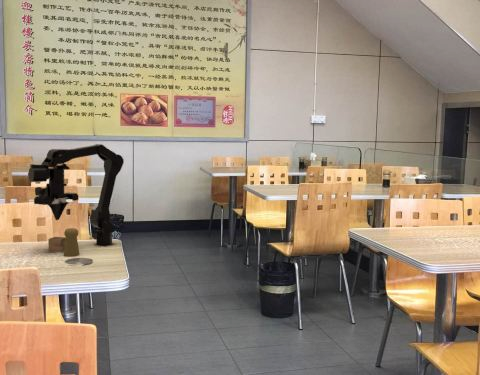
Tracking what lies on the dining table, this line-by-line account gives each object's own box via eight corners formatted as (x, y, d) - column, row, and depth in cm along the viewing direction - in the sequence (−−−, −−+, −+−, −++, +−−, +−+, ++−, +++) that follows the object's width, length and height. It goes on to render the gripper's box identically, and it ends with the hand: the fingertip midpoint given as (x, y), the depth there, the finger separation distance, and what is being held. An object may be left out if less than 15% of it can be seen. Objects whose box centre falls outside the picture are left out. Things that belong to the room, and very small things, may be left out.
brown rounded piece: (74, 258, 203) (74, 230, 202) (60, 257, 204) (60, 229, 203) (82, 255, 209) (82, 227, 208) (68, 254, 210) (68, 226, 209)
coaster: (57, 248, 220) (57, 246, 220) (76, 251, 216) (76, 249, 216) (38, 252, 211) (38, 251, 211) (58, 255, 207) (57, 254, 207)
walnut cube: (55, 248, 216) (54, 236, 216) (66, 249, 215) (66, 237, 215) (48, 251, 211) (48, 239, 211) (60, 252, 210) (60, 239, 210)
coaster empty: (77, 258, 204) (77, 256, 204) (98, 261, 200) (98, 259, 200) (58, 263, 195) (58, 262, 195) (80, 267, 191) (80, 265, 191)
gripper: (58, 178, 222) (58, 215, 224) (23, 181, 205) (23, 221, 207) (79, 179, 218) (79, 217, 219) (44, 183, 201) (45, 224, 202)
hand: (57, 219), depth 212 cm, fingers closed
